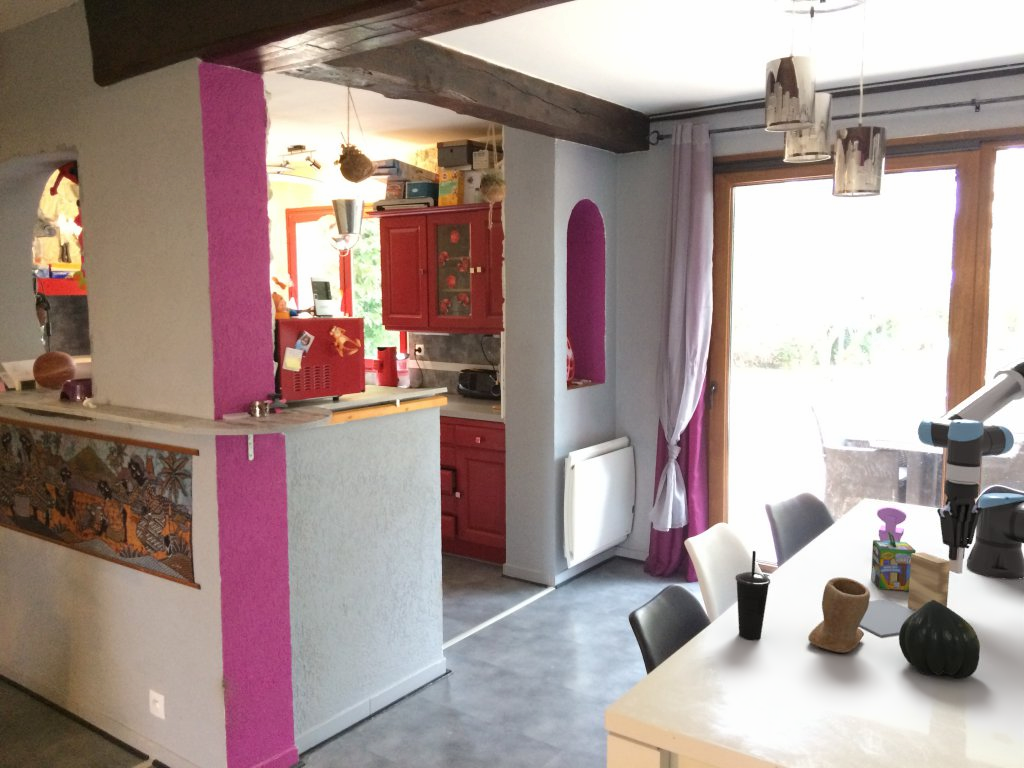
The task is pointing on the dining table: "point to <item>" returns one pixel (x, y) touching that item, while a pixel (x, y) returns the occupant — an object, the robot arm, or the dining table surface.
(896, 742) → the dining table surface
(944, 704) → the dining table surface
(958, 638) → the squash
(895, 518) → the toy chair
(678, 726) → the dining table surface
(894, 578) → the chalk box
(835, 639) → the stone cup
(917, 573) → the oak slab
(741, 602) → the drinking cup
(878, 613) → the mat
